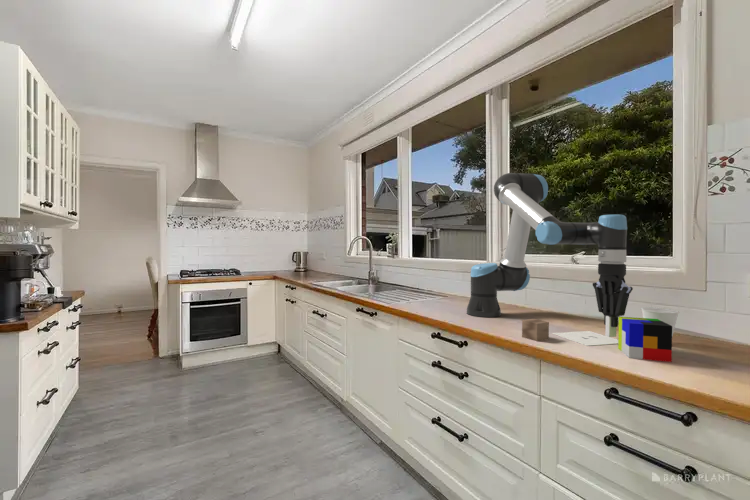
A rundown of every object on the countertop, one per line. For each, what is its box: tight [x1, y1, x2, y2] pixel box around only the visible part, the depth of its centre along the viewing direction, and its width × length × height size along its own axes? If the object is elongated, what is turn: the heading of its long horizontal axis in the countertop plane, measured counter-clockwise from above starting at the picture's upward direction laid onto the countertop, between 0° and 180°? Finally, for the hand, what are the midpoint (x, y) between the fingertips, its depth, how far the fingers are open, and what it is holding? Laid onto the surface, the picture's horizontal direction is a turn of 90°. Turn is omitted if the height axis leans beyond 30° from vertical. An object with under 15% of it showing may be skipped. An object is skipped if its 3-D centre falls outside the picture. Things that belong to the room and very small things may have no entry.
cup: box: [640, 306, 680, 338], centre depth 118 cm, size 10×10×11 cm
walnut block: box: [521, 318, 550, 342], centre depth 124 cm, size 6×6×6 cm
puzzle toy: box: [617, 316, 673, 363], centre depth 106 cm, size 10×10×10 cm
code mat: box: [551, 330, 618, 347], centre depth 124 cm, size 16×16×1 cm
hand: (610, 336), depth 115 cm, fingers closed
